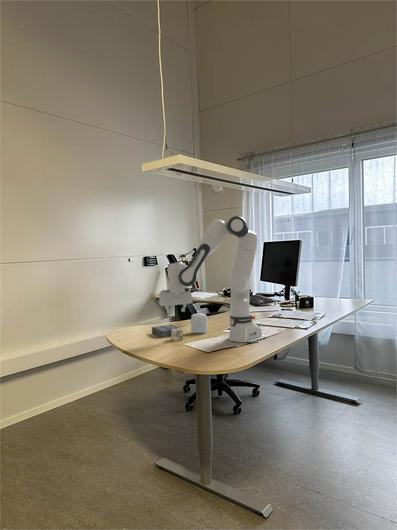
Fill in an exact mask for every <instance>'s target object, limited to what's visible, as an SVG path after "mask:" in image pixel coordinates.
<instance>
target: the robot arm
mask: <svg viewBox="0 0 397 530" xmlns="http://www.w3.org/2000/svg"><path fill="white" fill-rule="evenodd" d="M227 235H232V236H236V237H237V246H236V251H235V255H234V260H233V264H232V266H231V271H230V276H229V279H228V287H229V289H230V301H229V304H230V307H229V309H230V315H229V323H230V324H229V326H230V329H229V335H228V339H229V340H228V341H229V342H233V341H235V342H234V343H245V342H251V343H254V342H253V341H255V342H258V341H261V340H260V339H262V340H264V339H263V338H265V337H266V338H267V336H266V335H265V336H262V334H263V331H262V328H261V326H259V325H258V324H256V323H255V322H254V321H253V320H256V318H257V316H255V315H250V314H251V313H250V290H251V289H250V287H251V285H250V284H251V281H250V278H251V274H252V270H253V266H254V261H255V257H256V251H257V247H258V235H257V233H256V232H255V231H252V230H249V227H248V225H247V221H246V220H245V218H244V217H242V216H240V215H234V216H232V217H230V218H229V219H228V220H227V221H225V220H222V219H220V218H219V219H218V218H217V219H214V220H213V221H212V222H211V223H210V224H209V226H208V227H207V228H206V230H205V232H204V234H203V235H202V237H201V239H200V242H199V245H198V247H197V250H196V251H195V253H194V255H193V256H192V258H191V260H190V261H189V263H188V264H187V265H186V264H184V262H182V261H175V262H171V263H169V265H168V268H167V269H168V271H167V278H168V283H167V285H168V286H167V287H168V288H167V289H163V290H161V291H159V301H158V305H159V306H160V307H164V308H165V309H166V313H167V314H171V309H170V307H171V306H178V305H179V306H180V305H181V306H182V308H180V309H181V311H180V312H182V313H185V312H186V308H187V305H191V304H192V303H193V294H192V292H191V291H192V289H191V288H190V287H191V286H193V285H194V284H195V283H196V282H197V281H198V280H199V277H200V273H199V270H200V269H201V266H202V265H203V263H204V262H205V261H206V259H207V258H208V257H209V256H210V255H211V254H212V253H214V252H215V251H216V250H217V249H218V247H220V245H221V243H222V242H223V240H224V239H225V237H226V236H227ZM169 306H170V307H169ZM266 338H265V339H266ZM257 340H258V341H257Z"/></svg>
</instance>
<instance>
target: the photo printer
mask: <svg viewBox="0 0 397 530" xmlns="http://www.w3.org/2000/svg"><path fill="white" fill-rule="evenodd" d="M190 320H191V321H190V322H191V323H190V325H191V327H190V328H191V331H190V333H191V334H208V316H207V314H205V313H194V314H191V318H190Z"/></svg>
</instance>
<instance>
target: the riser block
mask: <svg viewBox="0 0 397 530" xmlns="http://www.w3.org/2000/svg"><path fill="white" fill-rule="evenodd" d="M178 328H179V329H182V328H180V327H178V326H177V325H174V324H165V325H159V326H152V327H151V334H153V335H154V336H156V337H158V338H160V339H162V338H170V337H172V333H171V329H178Z"/></svg>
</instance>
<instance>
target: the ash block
mask: <svg viewBox="0 0 397 530" xmlns="http://www.w3.org/2000/svg"><path fill="white" fill-rule="evenodd" d="M179 328H180V327H179ZM179 328H178V329H171V333H172V336H171V340H172V341H174V342H178V341H183V339H184V338H183V337H184V336H183V335H184V334H183V332H184V330H183V329H182V328H181V329H179Z"/></svg>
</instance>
